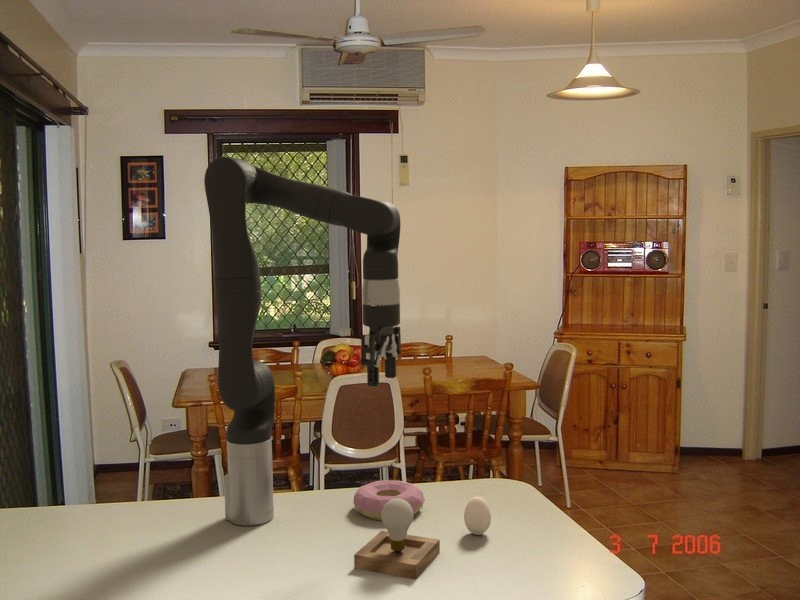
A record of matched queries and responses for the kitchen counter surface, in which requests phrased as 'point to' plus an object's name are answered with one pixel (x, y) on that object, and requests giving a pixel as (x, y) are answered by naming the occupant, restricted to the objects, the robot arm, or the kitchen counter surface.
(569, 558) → the kitchen counter surface
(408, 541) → the base
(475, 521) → the egg
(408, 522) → the light bulb
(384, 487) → the donut
